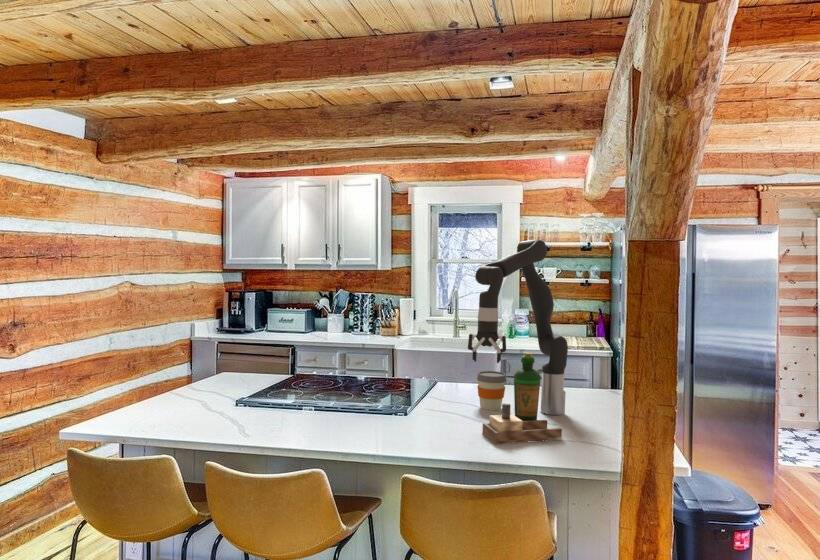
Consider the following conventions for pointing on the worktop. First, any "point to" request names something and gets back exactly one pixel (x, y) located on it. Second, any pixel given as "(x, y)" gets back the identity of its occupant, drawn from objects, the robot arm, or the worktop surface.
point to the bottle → (526, 389)
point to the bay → (523, 433)
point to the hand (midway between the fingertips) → (486, 362)
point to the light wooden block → (505, 421)
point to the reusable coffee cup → (491, 389)
